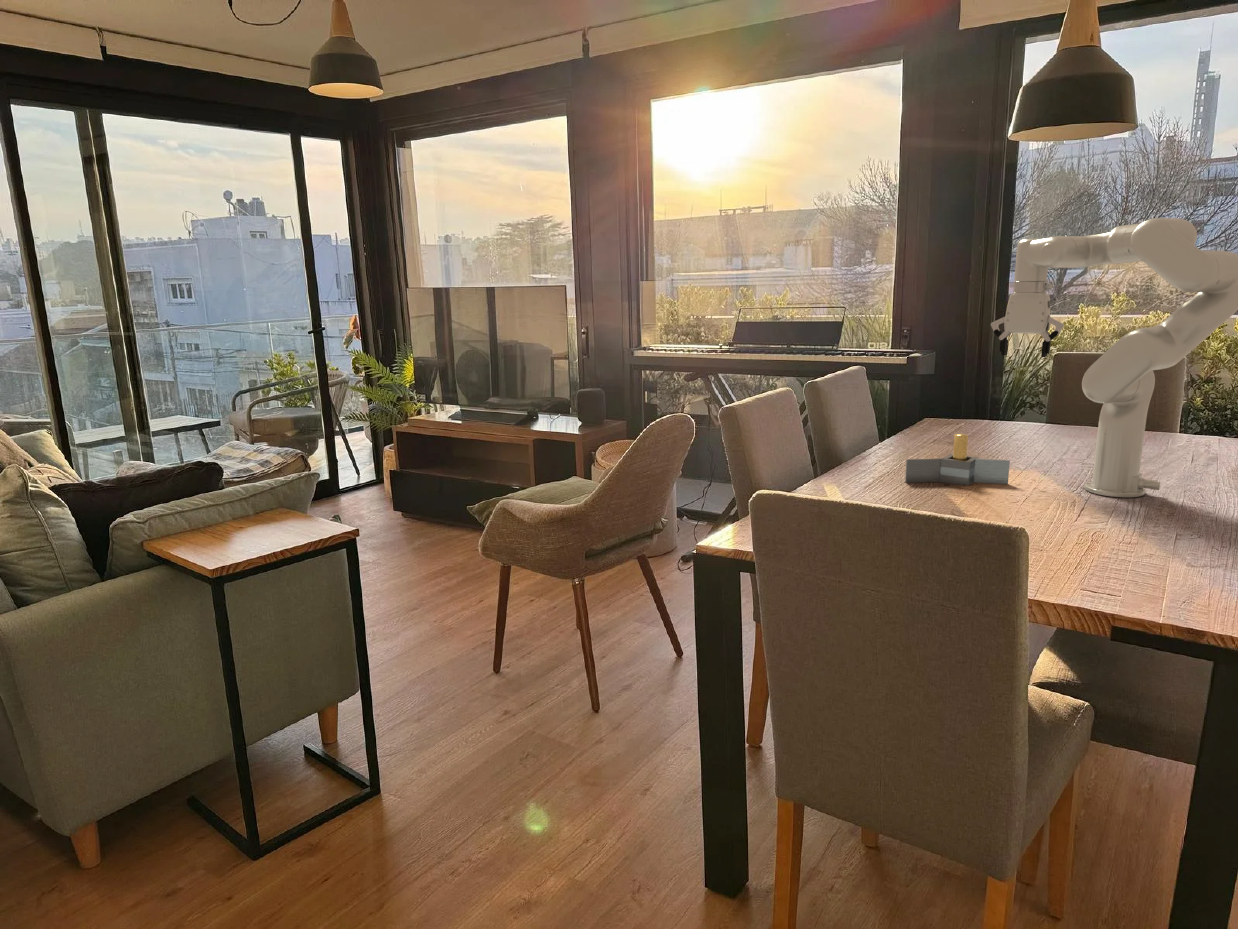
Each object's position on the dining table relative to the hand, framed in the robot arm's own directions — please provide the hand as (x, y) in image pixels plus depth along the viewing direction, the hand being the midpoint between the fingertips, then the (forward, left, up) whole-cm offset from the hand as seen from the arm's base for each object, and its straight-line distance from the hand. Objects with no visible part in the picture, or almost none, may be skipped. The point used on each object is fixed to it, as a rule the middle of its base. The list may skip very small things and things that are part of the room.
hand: (1023, 355), depth 218 cm
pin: (+8, +21, -30) cm, 38 cm away
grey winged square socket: (+8, +23, -30) cm, 39 cm away
